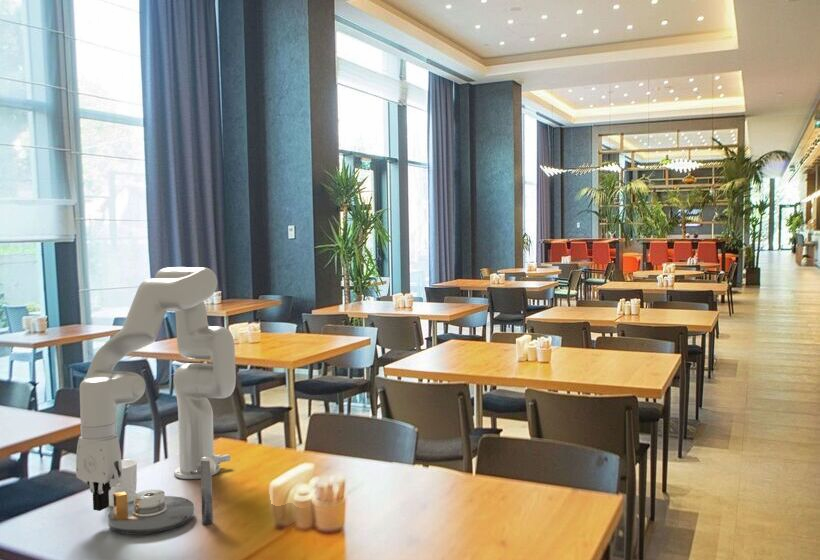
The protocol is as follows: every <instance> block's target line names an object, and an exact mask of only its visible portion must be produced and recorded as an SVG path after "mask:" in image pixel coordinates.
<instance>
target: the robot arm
mask: <svg viewBox="0 0 820 560" xmlns="http://www.w3.org/2000/svg"><path fill="white" fill-rule="evenodd" d="M217 287H218V278H217V275H216V273H215V272H214V271H213V270H212V269H211V268H208V267H202V266H201V267H200V266H199V267H196V266H195V267H193V266H192V267H189V266H188V267H186V266H172V267H163V268H161V269H159V270H158V271H157V272H156V273H155V276H154V278H149V279H145V280H143V281H142V282H141V283H140V284H139V285H138V288H137V290H136V292H135V295H134V298H133V300H132V303H131V305H130V308H129V311H128V313H127V316H126V319H125V321H124V324H123V326H122V328H121V329H120V331H118V332H117V333H116V334H114V335H113V336H112V337H111V338H109V339H108V340H107V341H106V342H105V343H104V344H102V346H101V347H100V348H99V349H98V351H97V352H96V353H95V354H94V356H93V357H92V359H91V362H90V363H89V364H90V365H89V367H88V370H87V372H86V375H85V378H84V379H83V380H82V381H81V382H80V383H79V409H80V410H79V412H80V414H79V415H80V426H79V429H80V436H79V437H78V440H77V446H76V455H75V475H76V478H77V479H79V480H81V482H83V483H85V484H87V485H88V487H89V491H90V493H91V494H92V505H93V506H92V507H93V509H92V510H93V511H98V512H100V511H103V510H106V509H107V508H109V507H110V506H109V491H110V490H111V487H115V486H117V485H119V484H120V481H119V477H121V474H122V461H121V460H122V453H121V447H120V445H121V444H120V441H119V437H118V436H117V417H116V416H117V414H116V413H117V412H116V410H117V409H116V406H117V405H118V406H120V405H127V404H132V403H135V402H137V401H138V400H141V398H142V397H143V395H145V391H146V386H147V385H146V381H145V379H144V377H143V376H142V375H141V374H138V373H136V372H132V371H122V370H121V371H119V370H114V368H115V366H116V365H117V364H118V363H119V362H120V361H121V360H122V359H123V358H125V357H126V356H128V355H129V354H131V353H133V352H136V351H138V350H141V349H143V348H145V347H147V346H149V345H151V344H153V343H154V342H155V341H156V340H157V338H158V335H159V332H160V329H161V326H162V323H163V320H164V318H165V315H166V313H167V312H171V311H172V312H174V313H175V314H174V315H175V324H176V325H175V328H176V341H177V342H176V343H177V350H178V353H179V355H180V356H181V357H182V358H185V359H189V360H204V361H205V360H207V361H209V360H210V361H211V363H203V362H200V363H199V362H190V363H189V362H188V363H184V364H182V365H180V366H179V367H178V368H176V370H175V372H174V374H173V380H172V381H173V382H172V383H173V388H174V392H175V396H176V402H177V412H178V413H177V417H178V418H177V419H178V421H177V422H178V446H179V447H178V448H179V449H178V451H179V452H178V453H179V466H178V467H176V468H175V469H174V470H173V472H174V473H173V475H174V477H176V478H177V479H182V480H183V479H184V480H198V479H199V480H200V479H201V475H200V474H190V472H191V471H197V469H196V464H197V462H198V461H199V460H200V459H201V458H203V457H210V458H212V459H213V460H214V461H215V463H216V469H215V471H214V472H213V473H212V476H215V475H216V474H218V473H219V472H220V469H221V468H220V467H221V466H220V465H221V463H226V462H230V461H231V455H230V454H228V453H227V454H224V455H223V454H222V453H221V454H215V452H214V451H215V449H214V447H215V445H214V443H215V442H214V412H213V407H212V404H211V402H210V401H209V399H227V398H228V397H230V396H231V395H233V393H234V391H235V388H236V380H237V379H236V378H237V375H236V348H235V347H236V346H235V340H234V336H233V334H232V332H231V331H230V329H229V328H227V327H225V326H224V327H223V326H219V325H213V326H212V325H210V324H209V322H208V313H207V312H208V311H207V306H206V304H205V301H207V300H208V299H210V298H211V297H212V296H213V295H214V294H215V292H216V291H217Z"/></svg>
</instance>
